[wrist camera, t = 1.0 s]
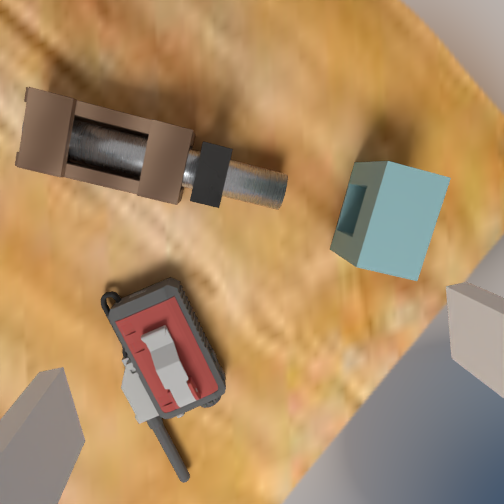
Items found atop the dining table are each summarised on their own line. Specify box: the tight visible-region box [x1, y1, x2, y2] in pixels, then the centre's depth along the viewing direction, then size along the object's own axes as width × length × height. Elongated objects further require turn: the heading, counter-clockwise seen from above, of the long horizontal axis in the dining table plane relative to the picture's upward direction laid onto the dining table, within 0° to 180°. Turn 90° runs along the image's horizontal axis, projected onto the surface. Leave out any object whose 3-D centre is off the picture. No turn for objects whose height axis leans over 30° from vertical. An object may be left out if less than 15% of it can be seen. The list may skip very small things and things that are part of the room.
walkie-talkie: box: [101, 277, 226, 482], centre depth 37 cm, size 9×4×20 cm
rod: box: [22, 120, 288, 210], centre depth 31 cm, size 20×4×8 cm, turn 76°
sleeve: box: [15, 87, 195, 205], centre depth 32 cm, size 12×6×5 cm, turn 76°
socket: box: [330, 161, 451, 281], centre depth 34 cm, size 5×8×7 cm, turn 166°
